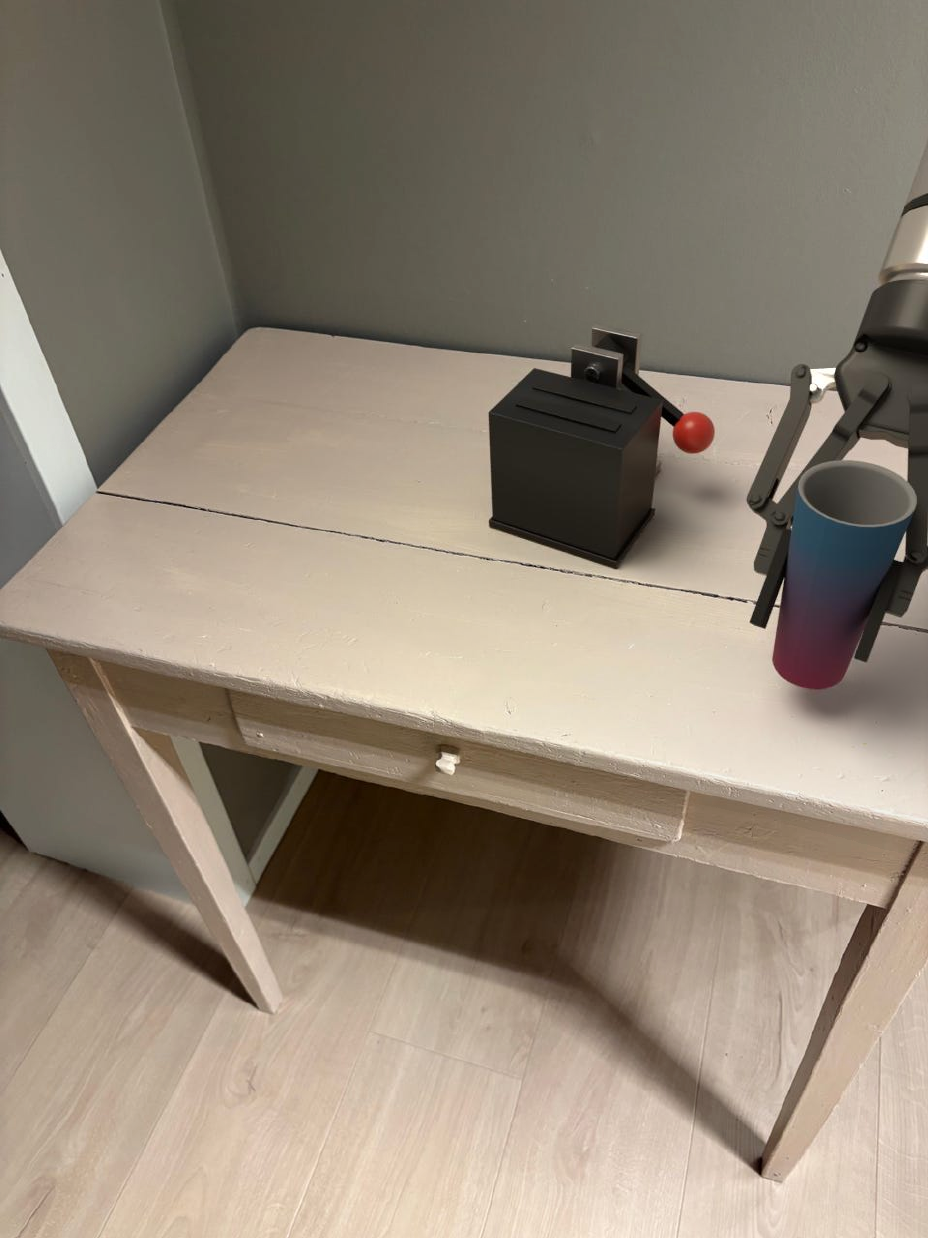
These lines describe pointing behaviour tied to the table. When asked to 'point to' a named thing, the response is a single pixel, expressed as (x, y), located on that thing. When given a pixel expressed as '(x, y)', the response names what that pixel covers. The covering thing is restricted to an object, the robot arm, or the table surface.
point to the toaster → (574, 465)
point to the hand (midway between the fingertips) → (808, 642)
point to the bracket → (607, 359)
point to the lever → (667, 408)
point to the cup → (837, 566)
